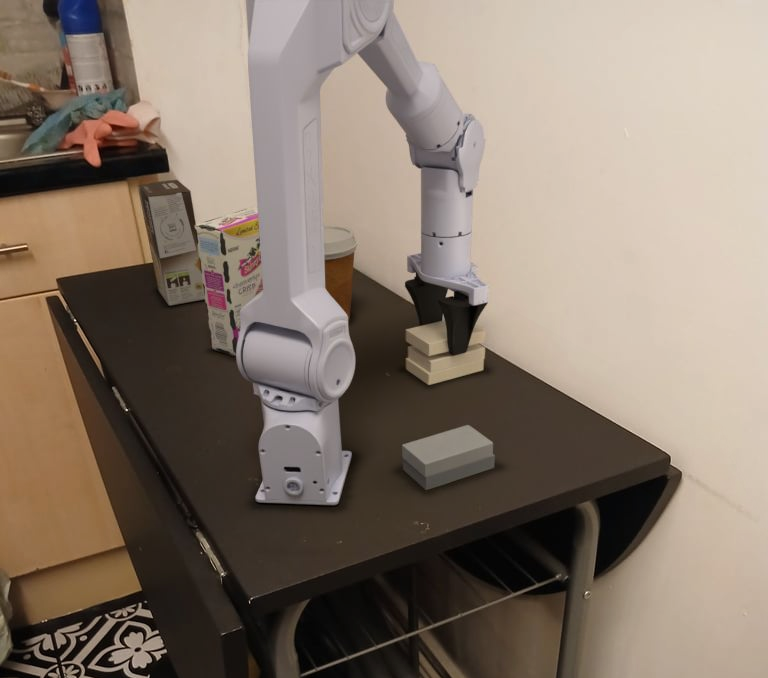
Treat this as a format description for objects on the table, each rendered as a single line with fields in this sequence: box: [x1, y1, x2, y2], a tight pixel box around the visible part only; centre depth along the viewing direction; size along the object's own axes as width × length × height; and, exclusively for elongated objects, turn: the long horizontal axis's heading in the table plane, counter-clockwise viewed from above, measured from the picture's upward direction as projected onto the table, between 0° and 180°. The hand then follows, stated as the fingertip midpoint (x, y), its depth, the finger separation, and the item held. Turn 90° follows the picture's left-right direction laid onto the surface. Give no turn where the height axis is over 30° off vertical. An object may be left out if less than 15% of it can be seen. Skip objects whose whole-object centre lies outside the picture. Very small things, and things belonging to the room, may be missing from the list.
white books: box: [404, 343, 486, 386], centre depth 98 cm, size 8×6×3 cm
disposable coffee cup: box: [324, 225, 358, 322], centre depth 110 cm, size 10×10×12 cm
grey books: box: [401, 424, 496, 491], centre depth 78 cm, size 8×4×3 cm, turn 119°
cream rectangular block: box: [404, 319, 487, 356], centre depth 96 cm, size 8×6×2 cm
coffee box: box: [137, 179, 205, 307], centre depth 120 cm, size 9×6×16 cm
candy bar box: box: [194, 206, 263, 357], centre depth 104 cm, size 11×5×16 cm, turn 146°
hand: (444, 344), depth 97 cm, fingers closed on cream rectangular block, 5 cm apart
